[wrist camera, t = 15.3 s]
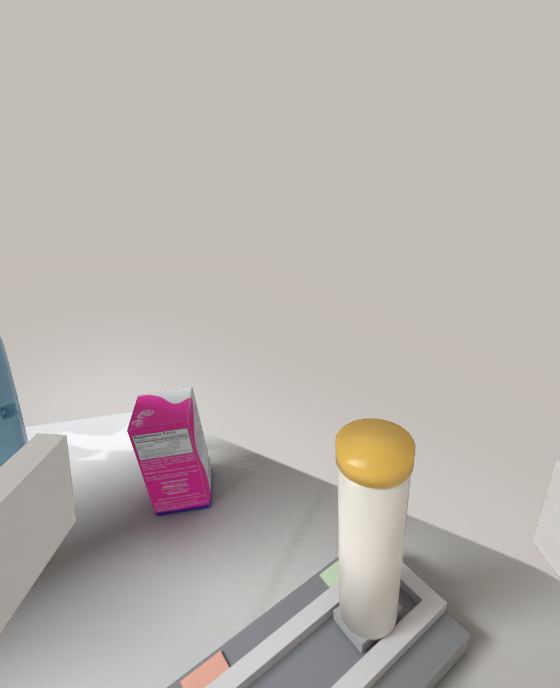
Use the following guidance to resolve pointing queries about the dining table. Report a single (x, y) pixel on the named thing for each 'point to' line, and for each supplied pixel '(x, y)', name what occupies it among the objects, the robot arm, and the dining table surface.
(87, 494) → the dining table surface
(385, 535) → the switch handle
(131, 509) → the dining table surface
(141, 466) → the supplement box
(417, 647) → the switch panel
